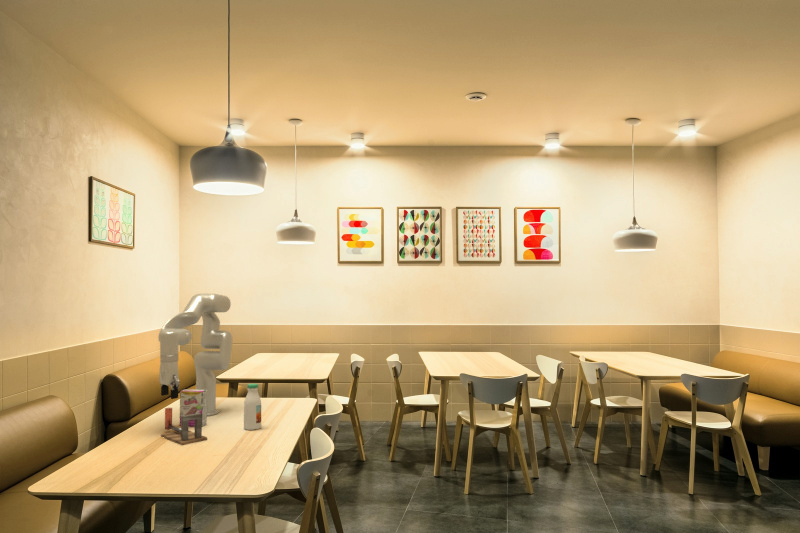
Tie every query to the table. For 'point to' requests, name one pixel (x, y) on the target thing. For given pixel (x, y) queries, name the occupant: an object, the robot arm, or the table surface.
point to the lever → (170, 421)
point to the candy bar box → (193, 404)
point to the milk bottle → (252, 408)
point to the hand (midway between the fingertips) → (169, 396)
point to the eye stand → (187, 431)
